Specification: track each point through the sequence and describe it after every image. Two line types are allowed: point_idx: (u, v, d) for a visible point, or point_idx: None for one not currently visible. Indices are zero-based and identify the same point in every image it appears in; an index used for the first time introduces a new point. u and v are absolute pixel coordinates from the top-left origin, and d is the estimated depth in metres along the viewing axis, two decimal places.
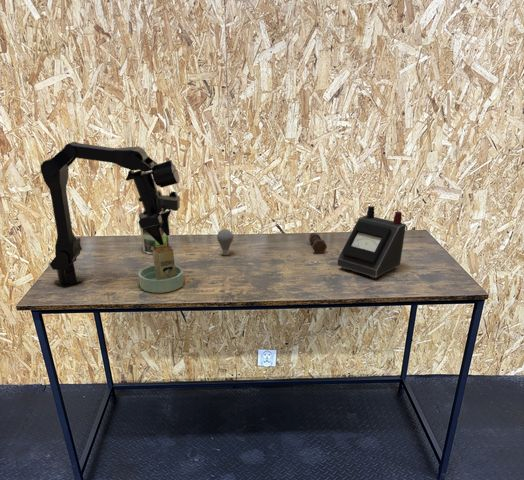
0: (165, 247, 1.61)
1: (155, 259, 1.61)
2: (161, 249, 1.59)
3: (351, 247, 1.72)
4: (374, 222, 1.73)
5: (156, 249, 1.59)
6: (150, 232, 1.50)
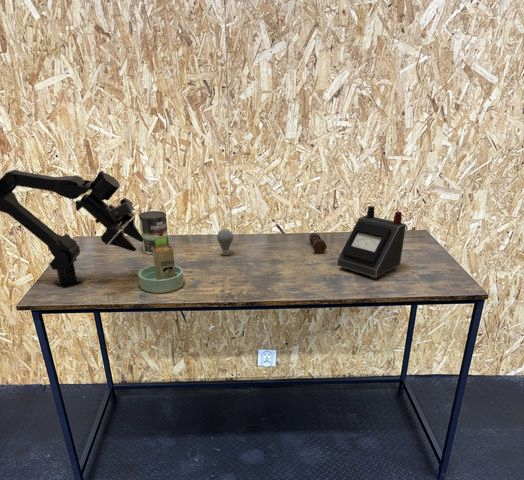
0: (165, 247, 1.61)
1: (155, 259, 1.61)
2: (161, 249, 1.59)
3: (351, 247, 1.72)
4: (374, 222, 1.73)
5: (156, 249, 1.59)
6: (118, 244, 1.53)
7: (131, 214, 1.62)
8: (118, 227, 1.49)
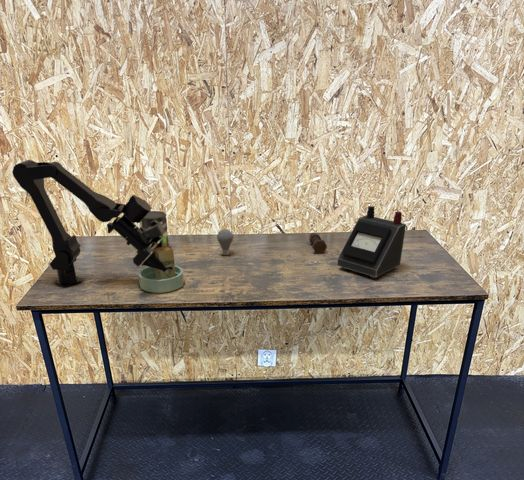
0: (165, 247, 1.61)
1: None
2: (161, 249, 1.59)
3: (351, 247, 1.72)
4: (374, 222, 1.73)
5: (156, 249, 1.59)
6: (150, 265, 1.57)
7: (160, 235, 1.65)
8: (150, 249, 1.52)
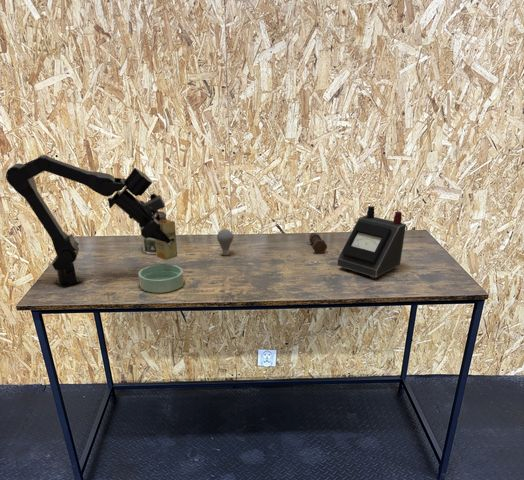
0: (165, 220, 1.65)
1: None
2: (162, 221, 1.63)
3: (351, 247, 1.72)
4: (374, 222, 1.73)
5: None
6: (155, 237, 1.60)
7: None
8: (156, 221, 1.56)
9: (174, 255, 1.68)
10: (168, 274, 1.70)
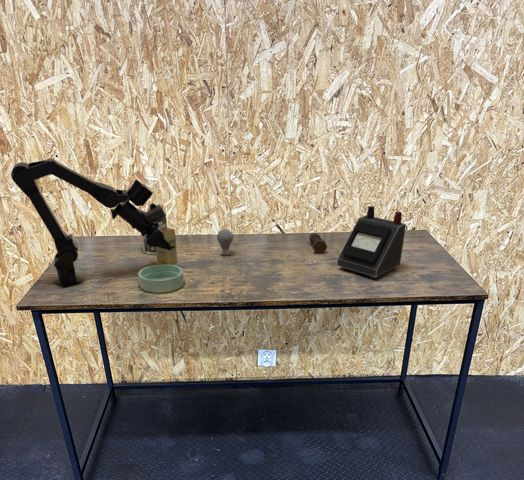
0: (164, 228, 1.71)
1: None
2: (163, 230, 1.69)
3: (351, 247, 1.72)
4: (374, 222, 1.73)
5: None
6: (158, 245, 1.66)
7: None
8: (160, 230, 1.62)
9: (174, 261, 1.75)
10: (168, 274, 1.70)
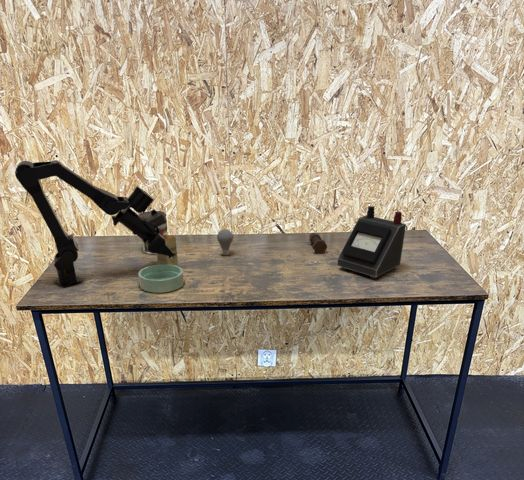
0: (165, 235, 1.72)
1: None
2: None
3: (351, 247, 1.72)
4: (374, 222, 1.73)
5: None
6: (160, 252, 1.66)
7: None
8: (161, 236, 1.63)
9: None
10: (168, 274, 1.70)
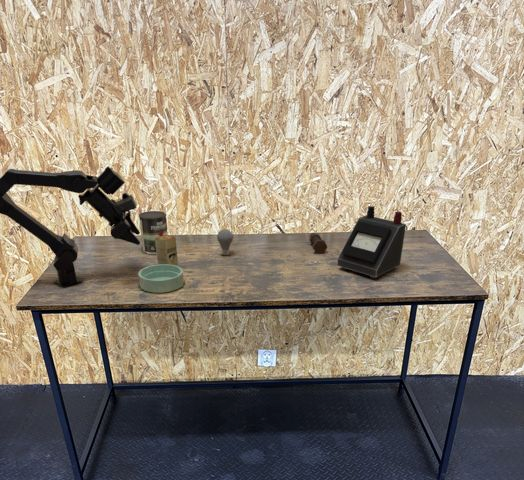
0: (165, 235, 1.72)
1: (159, 248, 1.71)
2: (163, 237, 1.70)
3: (351, 247, 1.72)
4: (374, 222, 1.73)
5: (159, 238, 1.70)
6: (124, 238, 1.59)
7: None
8: (127, 222, 1.56)
9: None
10: (168, 274, 1.70)
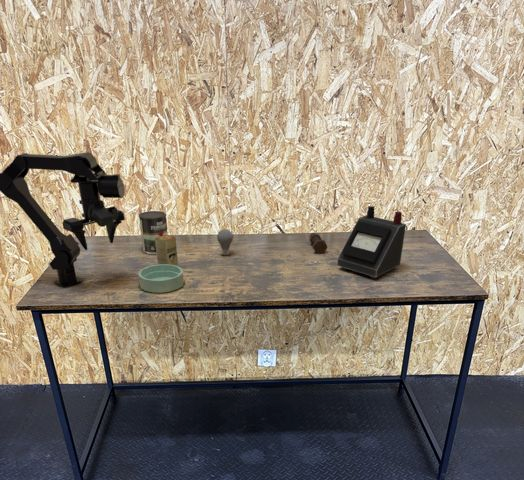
0: (165, 235, 1.72)
1: (159, 248, 1.71)
2: (163, 237, 1.70)
3: (351, 247, 1.72)
4: (374, 222, 1.73)
5: (159, 238, 1.70)
6: (76, 235, 1.54)
7: (120, 218, 1.58)
8: (79, 228, 1.50)
9: None
10: (168, 274, 1.70)
